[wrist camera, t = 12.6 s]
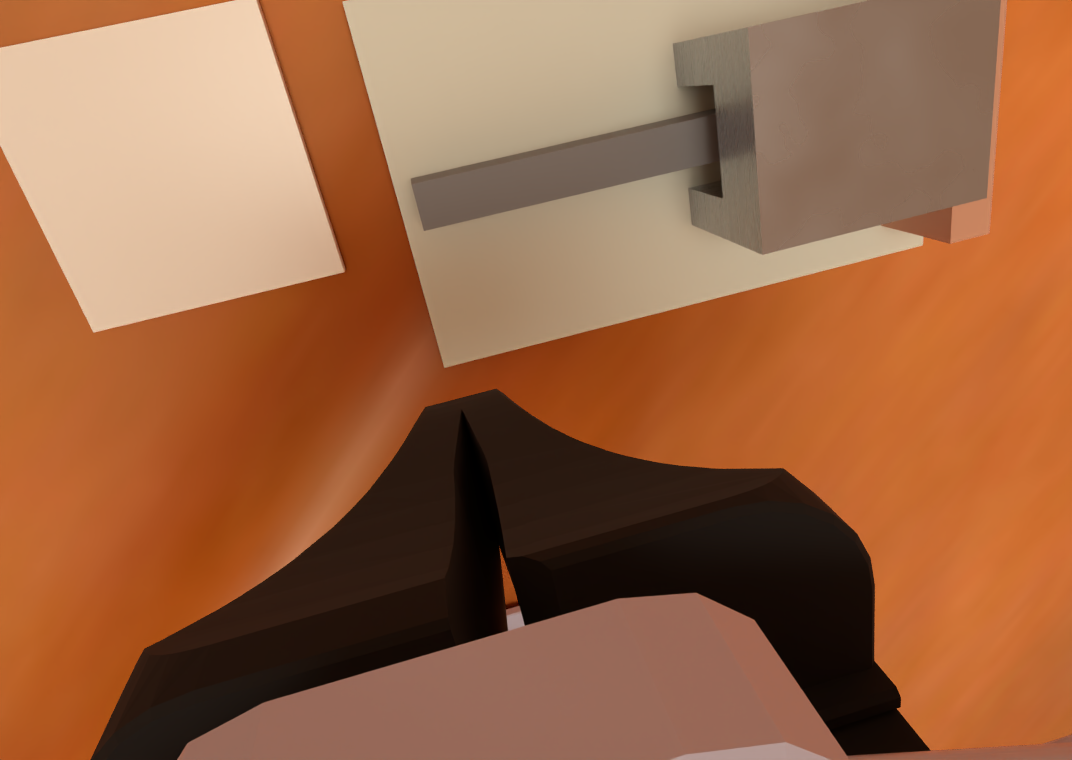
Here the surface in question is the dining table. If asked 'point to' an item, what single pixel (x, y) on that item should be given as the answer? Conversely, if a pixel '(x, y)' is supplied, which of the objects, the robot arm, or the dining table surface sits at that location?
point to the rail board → (575, 163)
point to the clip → (845, 118)
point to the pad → (165, 162)
